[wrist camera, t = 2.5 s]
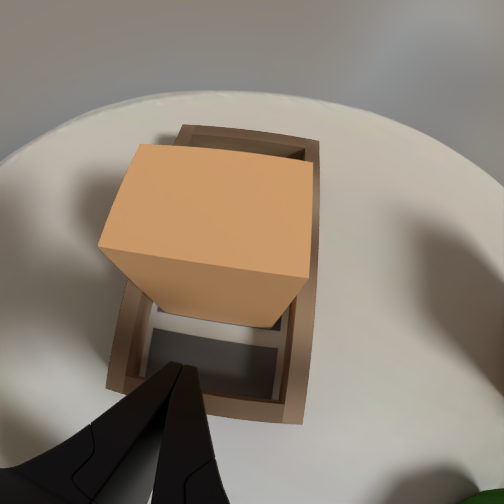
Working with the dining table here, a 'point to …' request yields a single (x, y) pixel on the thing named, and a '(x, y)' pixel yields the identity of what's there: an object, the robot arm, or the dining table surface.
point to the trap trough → (225, 334)
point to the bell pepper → (486, 497)
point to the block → (213, 231)
